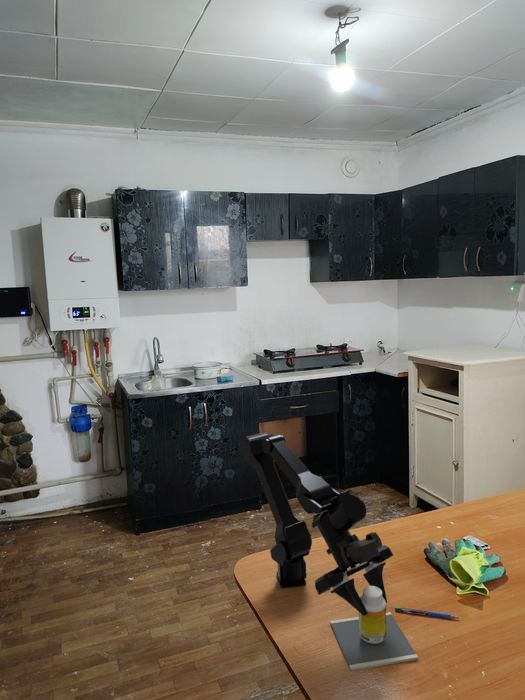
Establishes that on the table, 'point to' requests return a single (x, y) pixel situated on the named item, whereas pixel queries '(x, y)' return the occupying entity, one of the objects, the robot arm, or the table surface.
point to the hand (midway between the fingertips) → (375, 609)
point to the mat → (372, 645)
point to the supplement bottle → (373, 616)
